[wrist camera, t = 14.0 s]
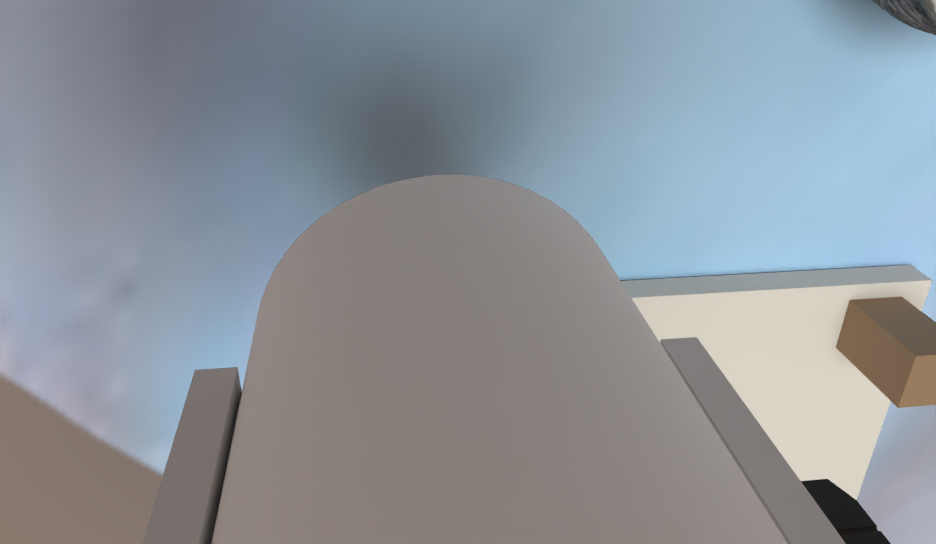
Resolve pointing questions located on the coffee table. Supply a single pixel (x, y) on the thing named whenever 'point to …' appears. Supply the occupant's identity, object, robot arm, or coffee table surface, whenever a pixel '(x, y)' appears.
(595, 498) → the cup
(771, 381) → the seat board
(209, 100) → the coffee table surface
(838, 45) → the coffee table surface
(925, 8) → the teapot
